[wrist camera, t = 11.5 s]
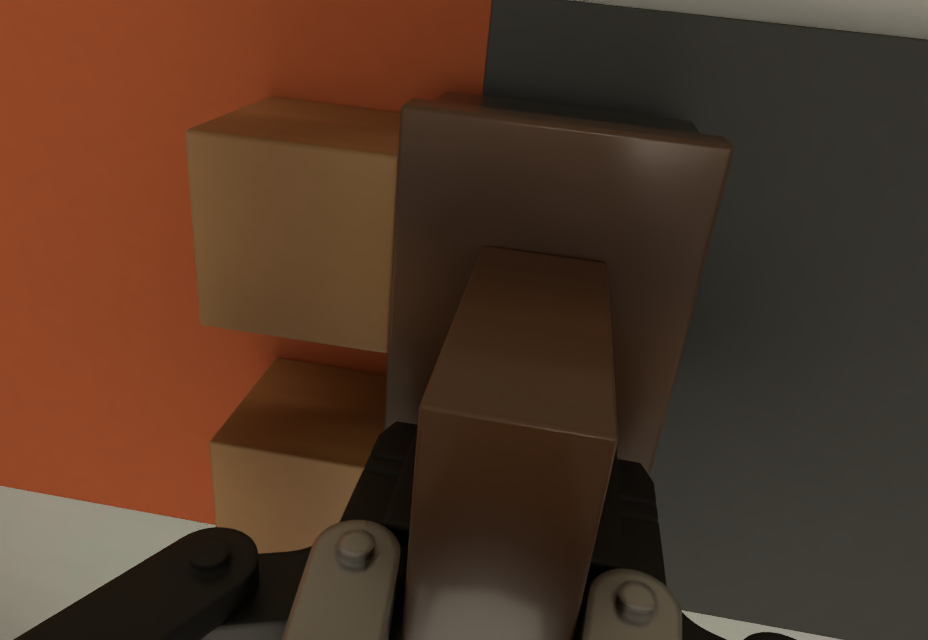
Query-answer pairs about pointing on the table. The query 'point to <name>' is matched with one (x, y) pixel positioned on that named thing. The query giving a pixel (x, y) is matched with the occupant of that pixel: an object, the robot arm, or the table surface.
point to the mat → (250, 354)
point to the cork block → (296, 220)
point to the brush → (533, 340)
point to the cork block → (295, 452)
